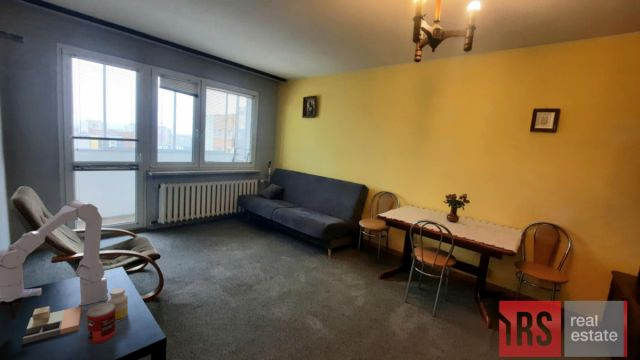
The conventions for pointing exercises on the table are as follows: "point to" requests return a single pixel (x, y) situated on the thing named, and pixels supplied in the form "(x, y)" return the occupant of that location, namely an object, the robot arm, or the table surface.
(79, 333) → the table surface
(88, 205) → the robot arm
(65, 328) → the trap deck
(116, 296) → the pill bottle
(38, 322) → the birch block
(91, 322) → the canned food
